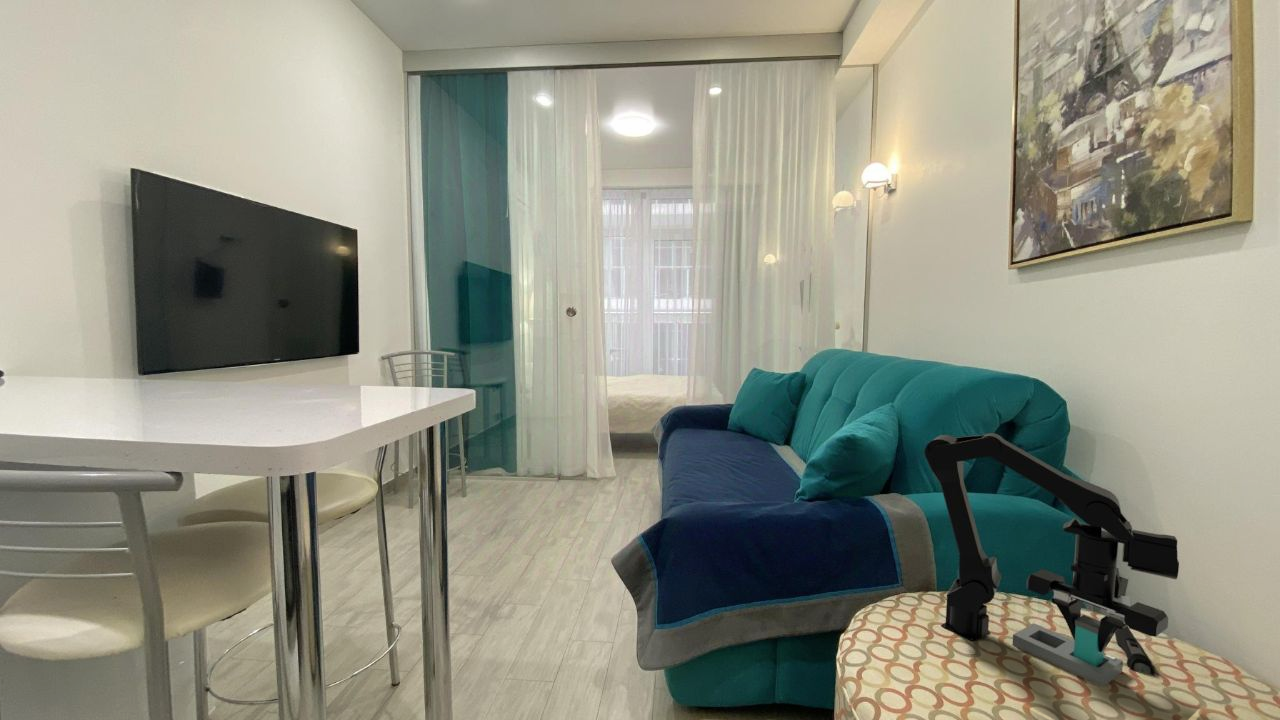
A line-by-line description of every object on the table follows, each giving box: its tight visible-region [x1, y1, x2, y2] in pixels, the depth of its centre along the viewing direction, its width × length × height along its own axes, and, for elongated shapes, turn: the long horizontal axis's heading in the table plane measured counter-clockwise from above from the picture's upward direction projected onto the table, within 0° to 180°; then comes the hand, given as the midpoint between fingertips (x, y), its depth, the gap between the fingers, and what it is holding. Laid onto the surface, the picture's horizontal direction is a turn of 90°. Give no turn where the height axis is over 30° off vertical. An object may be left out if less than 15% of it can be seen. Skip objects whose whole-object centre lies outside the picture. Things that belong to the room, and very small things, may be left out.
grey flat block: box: [1011, 623, 1124, 687], centre depth 101 cm, size 14×8×3 cm, turn 31°
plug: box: [1074, 614, 1105, 666], centre depth 97 cm, size 3×3×7 cm
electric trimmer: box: [1114, 626, 1156, 676], centre depth 103 cm, size 4×16×3 cm, turn 149°
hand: (1089, 646), depth 98 cm, fingers closed on plug, 3 cm apart
